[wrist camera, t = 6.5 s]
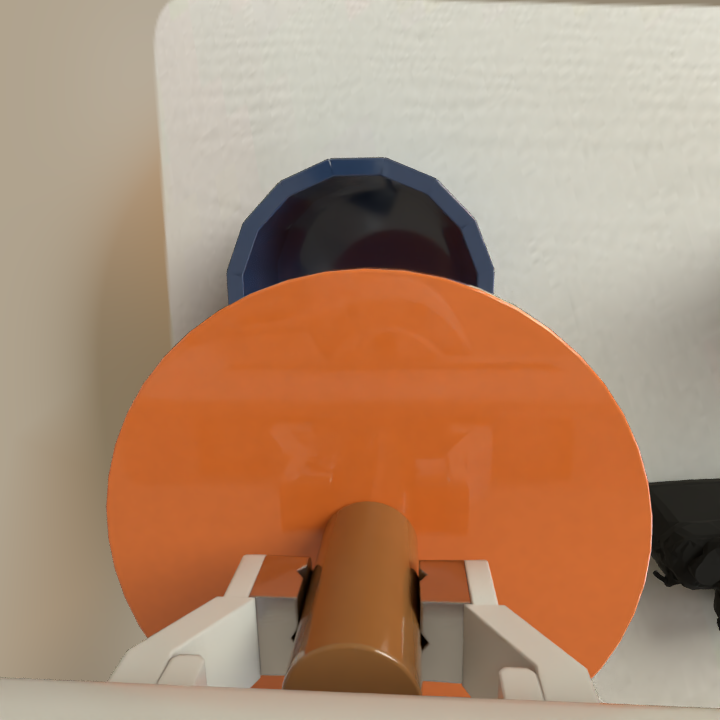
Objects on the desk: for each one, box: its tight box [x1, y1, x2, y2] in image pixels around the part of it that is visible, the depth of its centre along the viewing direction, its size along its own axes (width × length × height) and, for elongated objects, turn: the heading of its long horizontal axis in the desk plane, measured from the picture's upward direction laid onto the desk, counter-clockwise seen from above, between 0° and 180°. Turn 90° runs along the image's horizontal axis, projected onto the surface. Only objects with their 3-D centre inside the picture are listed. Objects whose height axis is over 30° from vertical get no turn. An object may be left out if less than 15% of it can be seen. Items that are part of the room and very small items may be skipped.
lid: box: [106, 267, 652, 698], centre depth 13 cm, size 14×14×6 cm
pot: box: [226, 157, 495, 305], centre depth 32 cm, size 13×13×8 cm
